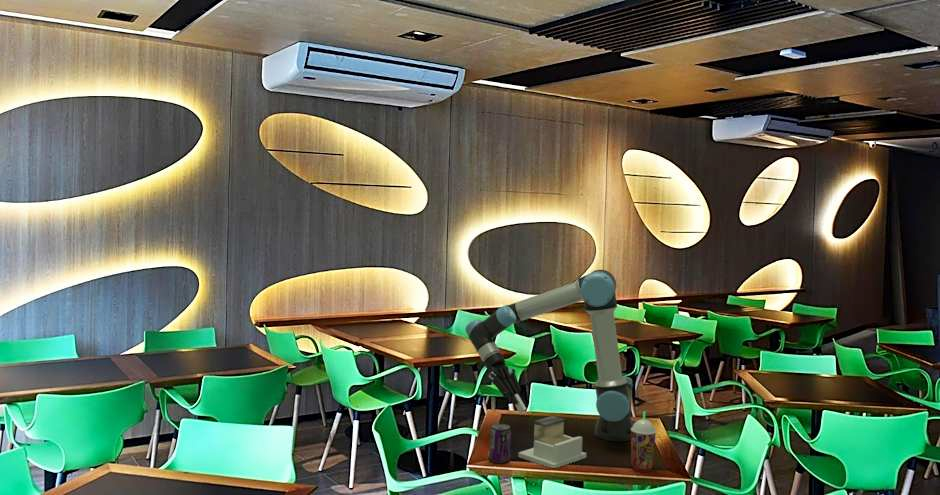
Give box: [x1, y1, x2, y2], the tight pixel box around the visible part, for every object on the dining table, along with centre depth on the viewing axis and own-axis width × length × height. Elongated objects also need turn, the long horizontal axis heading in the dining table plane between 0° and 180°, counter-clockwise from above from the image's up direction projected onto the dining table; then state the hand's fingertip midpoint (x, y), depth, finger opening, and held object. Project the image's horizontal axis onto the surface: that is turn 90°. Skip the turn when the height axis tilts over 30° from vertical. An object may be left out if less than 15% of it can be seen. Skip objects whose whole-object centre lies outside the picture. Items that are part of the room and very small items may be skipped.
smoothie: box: [630, 410, 657, 473], centre depth 268 cm, size 8×8×20 cm
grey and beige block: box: [533, 415, 565, 446], centre depth 279 cm, size 5×10×11 cm, turn 135°
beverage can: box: [489, 423, 512, 464], centre depth 273 cm, size 7×7×12 cm
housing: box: [517, 434, 588, 469], centre depth 278 cm, size 16×18×8 cm
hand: (523, 411), depth 287 cm, fingers closed
